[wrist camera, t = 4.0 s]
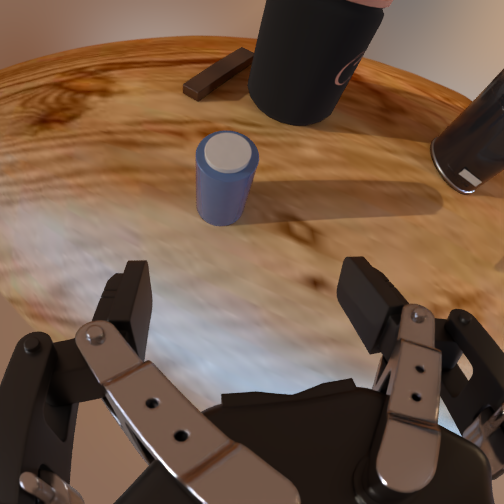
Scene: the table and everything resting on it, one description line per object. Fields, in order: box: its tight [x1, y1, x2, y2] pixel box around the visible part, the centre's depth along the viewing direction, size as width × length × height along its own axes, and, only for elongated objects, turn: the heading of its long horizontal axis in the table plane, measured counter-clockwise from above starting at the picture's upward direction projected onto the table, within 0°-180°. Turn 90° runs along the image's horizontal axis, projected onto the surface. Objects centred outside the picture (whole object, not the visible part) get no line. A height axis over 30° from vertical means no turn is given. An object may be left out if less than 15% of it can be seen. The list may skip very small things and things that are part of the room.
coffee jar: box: [247, 0, 393, 126], centre depth 25 cm, size 11×11×18 cm
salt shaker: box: [196, 131, 259, 226], centre depth 24 cm, size 4×4×8 cm
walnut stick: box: [183, 47, 254, 101], centre depth 32 cm, size 11×2×2 cm, turn 144°
